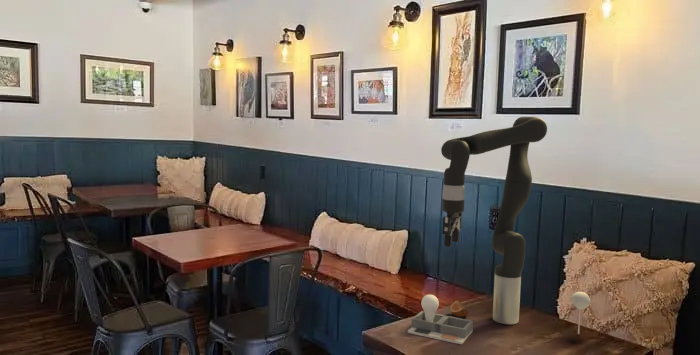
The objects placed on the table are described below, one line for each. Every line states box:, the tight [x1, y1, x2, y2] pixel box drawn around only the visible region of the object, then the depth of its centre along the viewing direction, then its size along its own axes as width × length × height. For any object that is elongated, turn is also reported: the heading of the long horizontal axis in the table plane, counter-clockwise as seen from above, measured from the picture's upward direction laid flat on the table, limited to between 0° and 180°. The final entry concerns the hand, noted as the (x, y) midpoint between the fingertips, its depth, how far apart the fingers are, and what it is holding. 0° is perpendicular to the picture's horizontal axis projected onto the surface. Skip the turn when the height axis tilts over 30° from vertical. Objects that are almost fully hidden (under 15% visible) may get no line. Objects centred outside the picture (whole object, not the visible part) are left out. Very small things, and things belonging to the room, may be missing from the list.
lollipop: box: [570, 291, 591, 335], centre depth 188 cm, size 6×6×15 cm
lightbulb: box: [420, 294, 440, 322], centre depth 191 cm, size 6×6×11 cm
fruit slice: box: [449, 299, 469, 318], centre depth 203 cm, size 8×7×5 cm
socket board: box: [407, 310, 474, 345], centre depth 188 cm, size 13×19×4 cm
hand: (451, 244), depth 189 cm, fingers open, 8 cm apart
